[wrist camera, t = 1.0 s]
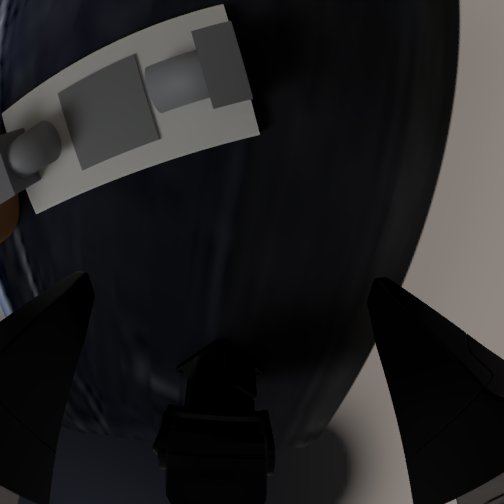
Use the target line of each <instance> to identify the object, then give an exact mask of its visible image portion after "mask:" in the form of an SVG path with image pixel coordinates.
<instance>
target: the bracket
mask: <svg viewBox="0 0 504 504" xmlns="http://www.w3.org/2000/svg"><path fill="white" fill-rule="evenodd" d="M18 217H19V199H18V194H16V195H14V196H13V197H11V198H10V199H8V200H6V201H5V202H3V203H2V204H0V243H1V242H3V241H4V240H5V239H6V238H7V237H8V236H10V235H11V234H12V233H13V231H14V230H15V228H16V225H17V222H18Z"/></svg>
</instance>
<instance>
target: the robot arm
mask: <svg viewBox="0 0 504 504" xmlns="http://www.w3.org/2000/svg"><path fill="white" fill-rule="evenodd" d="M94 297H95V295H94V290H93V287H92V284H91V281H90V278H89V275H88V273H86V272H79V271H76V272H74V273H72V274H71V275H69V276H67V277H66V278H64V279H63V280H61V281H60V282H58V283H56V284H55V285H53V286H52V287H50V288H49V289H47V290H46V291H44V292H43V293H41V294H40V295H38V296H37V297H35V298H34V299H32V300H31V301H29V302H28V303H26V304H25V305H23V306H22V307H20V308H19V309H17V310H16V311H15V312H13V313H12V314H10V315H9V316H7V317H6V318H5V319H3V320H2V321H0V504H19V501H20V496H21V497H23V498H26V499H28V500H30V501H32V502H34V503H37V504H49V500H50V490H51V482H52V474H53V468H54V461H55V455H56V449H57V443H58V438H59V433H60V428H61V424H62V419H63V415H64V410H65V406H66V402H67V398H68V394H69V390H70V387H71V383H72V379H73V376H74V372H75V369H76V366H77V362H78V359H79V356H80V353H81V349H82V346H83V343H84V340H85V336H86V332H87V327H88V323H89V319H90V315H91V311H92V307H93V303H94ZM367 303H368V309H369V313H370V318H371V323H372V328H373V333H374V338H375V342H376V346H377V350H378V353H379V356H380V360H381V363H382V367H383V370H384V373H385V377H386V380H387V384H388V388H389V391H390V395H391V398H392V402H393V406H394V410H395V414H396V418H397V422H398V426H399V431H400V435H401V440H402V444H403V449H404V454H405V458H406V465H407V470H408V474H409V481H410V486H411V492H412V499H413V504H445V503H447V502H449V501H451V500H454V499H456V500H457V504H504V360H503V359H502V358H500V357H499V356H497V355H496V354H494V353H493V352H492V351H490V350H489V349H487V348H486V347H484V346H483V345H482V344H480V343H479V342H477V341H476V340H475V339H473V338H472V337H471V336H469V335H468V334H466V333H465V332H464V331H462V330H461V329H460V328H459V327H457V326H456V325H455V324H453V323H452V322H450V321H449V320H448V319H446V318H445V317H443V316H442V315H441V314H439V313H438V312H436V311H435V310H434V309H432V308H431V307H429V306H428V305H427V304H425V303H424V302H422V301H421V300H419V299H418V298H417V297H415V296H414V295H412V294H411V293H409V292H408V291H406V290H405V289H403V288H402V287H401V286H399V285H398V284H396V283H395V282H393V281H392V280H390V279H389V278H386V277H384V278H376V279H375V280H374V282H373V284H372V287H371V290H370V293H369V296H368V301H367ZM176 372H177V373H178V374H180V375H182V376H183V377H185V378H187V379H188V380H187V388H186V396H185V404H184V407H181V406H175V405H172V404H168V408H167V411H165V413H163V417H162V423H161V428H160V431H159V433H158V435H157V437H156V440H155V442H154V444H153V451H154V452H155V453H156V454H157V456H158V460H159V466H160V468H161V469H165V470H166V495H167V497H168V499H169V501H170V503H171V504H264V503H265V501H266V494H267V475H272V474H273V472H274V466H275V445H274V439H273V434H272V429H271V424H270V419H269V415H268V410H261V411H255V407H254V399H256V398H257V390H256V378H258V377H259V376H261V375H262V374H263V370H262V368H260V367H259V366H257V365H255V364H254V363H252V362H251V361H249V360H248V359H246V358H245V357H243V356H242V355H240V354H239V353H237V352H236V351H234V350H233V349H231V348H230V347H228V346H227V345H225V344H224V343H222V342H220V341H215V342H213V343H212V344H210V345H209V346H207V347H206V348H204V349H203V350H201V351H200V352H198V353H197V354H195V355H194V356H192V357H191V358H189V359H188V360H186V361H185V362H183V363H182V364H180V365H179V366H177V369H176Z"/></svg>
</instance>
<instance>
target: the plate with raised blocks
mask: <svg viewBox="0 0 504 504" xmlns="http://www.w3.org/2000/svg"><path fill="white" fill-rule="evenodd" d="M251 99H253V96H252V93H251V89H250V85H249V82H248V78H247V74H246V71H245V67H244V64H243V60H242V57H241V53H240V50H239V46H238V43H237V39H236V36H235V32H234V29H233V26H232V22H231V21H228V18H227V14H226V11H225V8H224V5H223V4H221V5H217V6H213V7H210V8H206V9H202V10H199V11H195V12H192V13H189V14H185V15H182V16H179V17H176V18H173V19H170V20H167V21H164V22H162V23H159V24H156V25H154V26H151V27H148V28H146V29H143V30H141V31H139V32H136V33H134V34H131V35H129V36H127V37H125V38H122V39H120V40H118V41H116V42H114V43H112V44H110V45H108V46H106V47H104V48H102V49H100V50H98V51H96V52H94V53H92V54H90V55H88V56H86V57H85V58H83V59H81V60H79V61H77V62H76V63H74V64H72V65H71V66H69V67H67V68H66V69H64V70H62V71H61V72H59V73H57V74H56V75H54V76H53V77H51V78H50V79H48V80H47V81H45V82H44V83H42V84H41V85H39V86H38V87H36V88H35V89H34V90H32V91H31V92H29V93H28V94H27V95H25V96H24V97H23V98H21V99H20V100H19V101H17V102H16V103H15V104H13V105H12V106H11V107H10V108H8V109H7V110H6V111H5V112H4V113H2V117H3V121H4V125H5V129H6V132H7V133H5V134H2V135H0V204H2V203H3V202H5V201H6V200H8V199H10V198H11V197H13V196H14V195H16V194H18V193H19V192H21V191H23V190H24V189H26V191H27V194H28V196H29V199H30V201H31V203H32V206H33V208H34V210H35V213H36V214H38V213H40V212H42V211H44V210H46V209H48V208H50V207H52V206H55V205H57V204H59V203H61V202H63V201H65V200H68V199H70V198H72V197H74V196H77V195H79V194H81V193H83V192H86V191H88V190H91V189H93V188H95V187H98V186H100V185H103V184H105V183H108V182H110V181H113V180H115V179H118V178H120V177H123V176H126V175H128V174H131V173H134V172H137V171H139V170H142V169H145V168H148V167H151V166H153V165H156V164H159V163H162V162H165V161H168V160H171V159H174V158H177V157H181V156H184V155H187V154H190V153H194V152H197V151H200V150H204V149H207V148H211V147H214V146H218V145H221V144H225V143H229V142H232V141H236V140H240V139H244V138H248V137H252V136H256V135H260V133H259V129H258V125H257V121H256V118H255V114H254V110H253V106H252V102H251Z"/></svg>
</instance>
